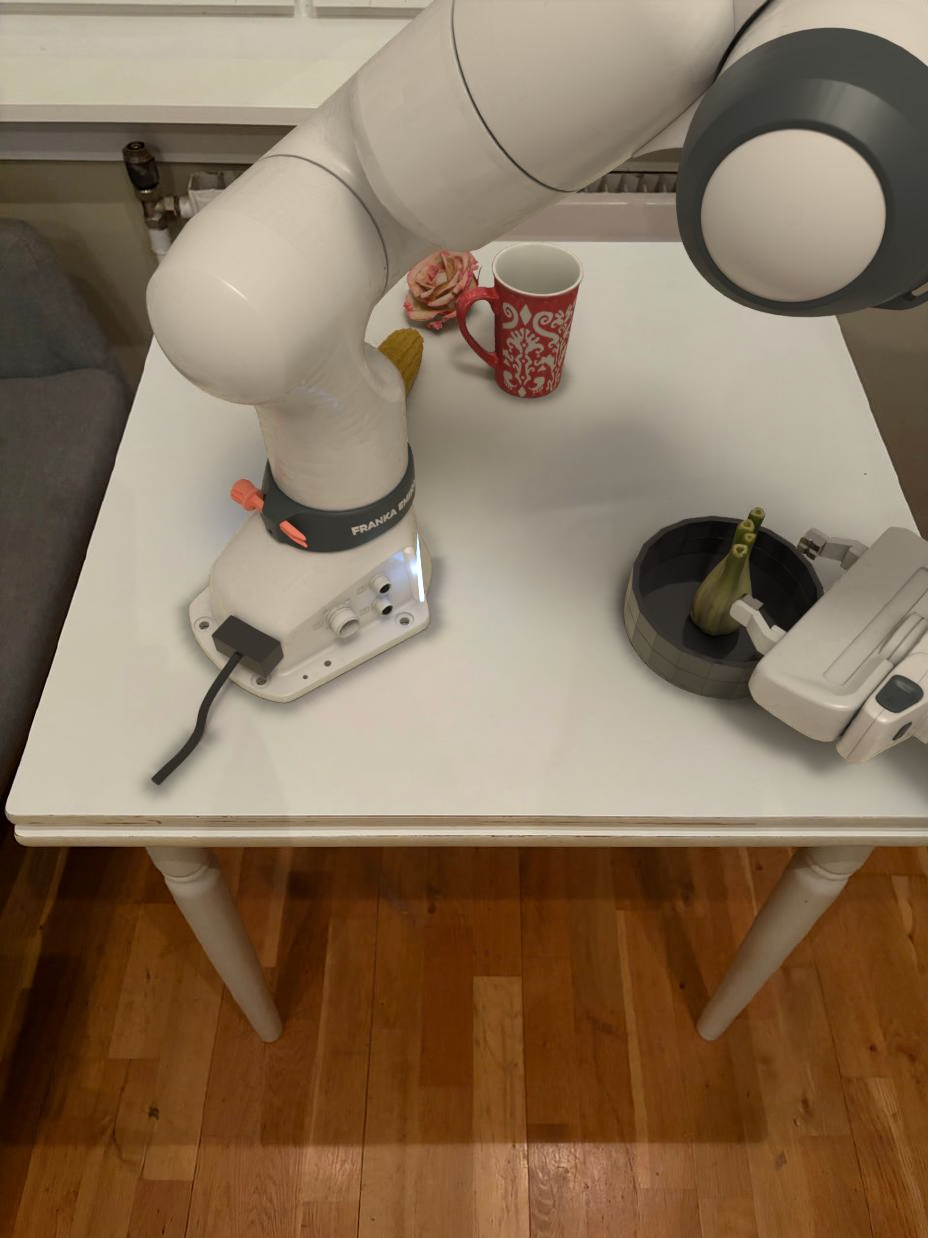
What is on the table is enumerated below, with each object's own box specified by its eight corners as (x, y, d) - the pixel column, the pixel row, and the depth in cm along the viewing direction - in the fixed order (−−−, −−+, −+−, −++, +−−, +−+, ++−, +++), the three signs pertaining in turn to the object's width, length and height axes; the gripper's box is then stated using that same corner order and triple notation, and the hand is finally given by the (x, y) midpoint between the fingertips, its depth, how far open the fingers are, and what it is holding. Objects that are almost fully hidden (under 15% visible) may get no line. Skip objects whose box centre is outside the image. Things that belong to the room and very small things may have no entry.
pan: (736, 734, 78) (752, 703, 74) (586, 621, 84) (593, 586, 80) (842, 621, 85) (861, 587, 81) (695, 524, 91) (707, 488, 87)
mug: (556, 344, 107) (568, 235, 96) (579, 397, 102) (595, 289, 91) (447, 359, 105) (446, 250, 94) (465, 414, 100) (466, 305, 89)
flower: (467, 266, 112) (429, 224, 106) (516, 289, 107) (479, 247, 100) (420, 334, 113) (379, 296, 107) (466, 361, 108) (426, 323, 101)
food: (374, 489, 93) (369, 445, 89) (320, 478, 94) (312, 433, 89) (433, 355, 105) (432, 310, 100) (385, 346, 106) (382, 301, 101)
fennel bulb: (720, 586, 86) (755, 496, 76) (759, 622, 84) (800, 534, 74) (673, 615, 84) (702, 526, 74) (711, 653, 82) (747, 566, 72)
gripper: (1013, 568, 72) (853, 474, 77) (872, 737, 63) (703, 618, 69) (976, 616, 77) (828, 526, 82) (841, 779, 68) (686, 665, 74)
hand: (770, 569), depth 76 cm, fingers open, 8 cm apart
